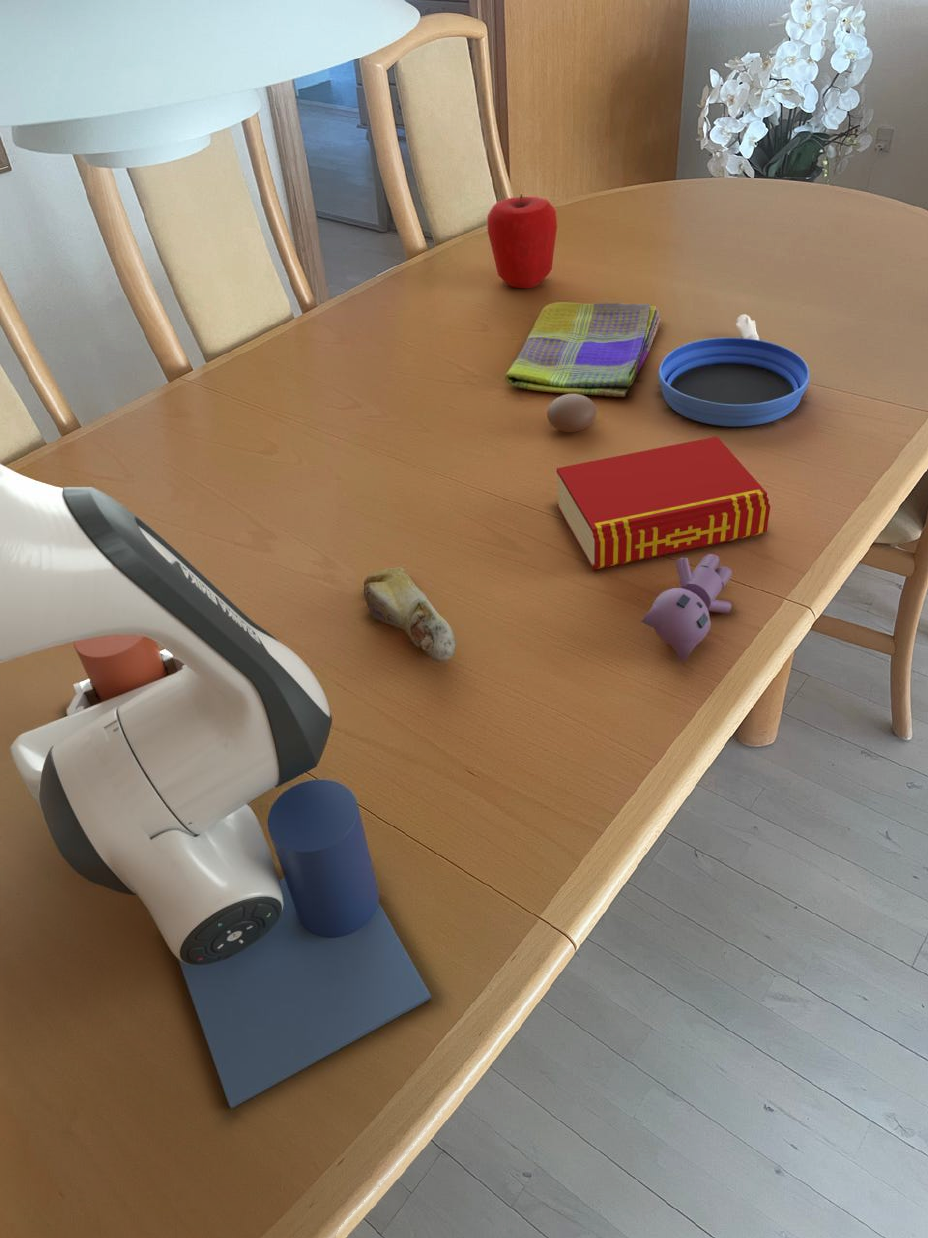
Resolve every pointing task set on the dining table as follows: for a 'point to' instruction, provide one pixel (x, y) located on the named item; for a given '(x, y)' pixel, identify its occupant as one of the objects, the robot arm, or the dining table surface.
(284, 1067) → the blue mat
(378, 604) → the weathered bone fragment
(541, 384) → the dish towel
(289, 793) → the blue canister
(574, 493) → the book
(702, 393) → the bowl
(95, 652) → the terracotta canister
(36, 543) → the robot arm
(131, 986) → the dining table surface
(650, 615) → the figurine
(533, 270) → the apple
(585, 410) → the egg
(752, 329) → the small white plastic part
